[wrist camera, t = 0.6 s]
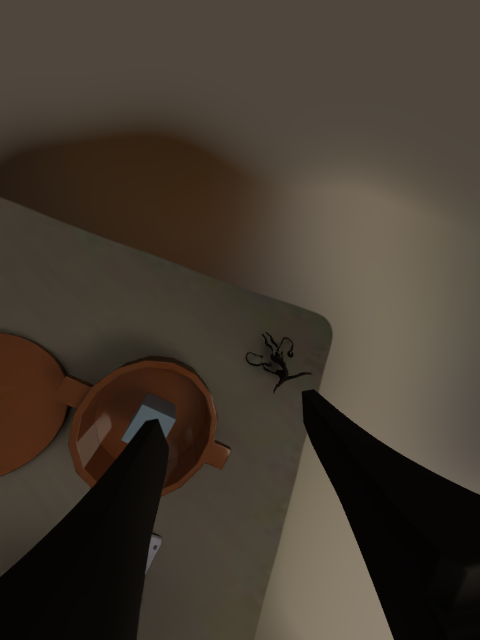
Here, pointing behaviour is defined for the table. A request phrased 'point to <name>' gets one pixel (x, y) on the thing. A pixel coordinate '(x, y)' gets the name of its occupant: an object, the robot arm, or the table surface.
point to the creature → (277, 359)
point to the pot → (122, 403)
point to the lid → (27, 401)
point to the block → (151, 415)
